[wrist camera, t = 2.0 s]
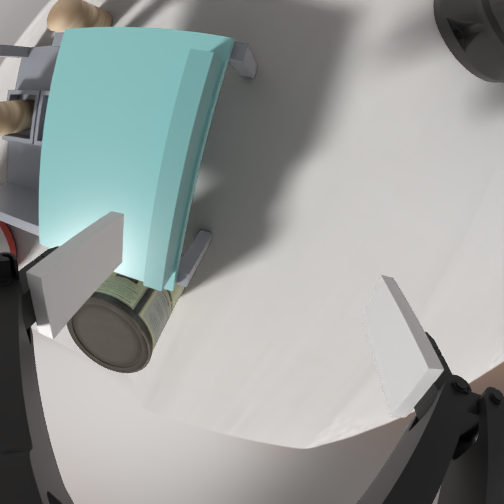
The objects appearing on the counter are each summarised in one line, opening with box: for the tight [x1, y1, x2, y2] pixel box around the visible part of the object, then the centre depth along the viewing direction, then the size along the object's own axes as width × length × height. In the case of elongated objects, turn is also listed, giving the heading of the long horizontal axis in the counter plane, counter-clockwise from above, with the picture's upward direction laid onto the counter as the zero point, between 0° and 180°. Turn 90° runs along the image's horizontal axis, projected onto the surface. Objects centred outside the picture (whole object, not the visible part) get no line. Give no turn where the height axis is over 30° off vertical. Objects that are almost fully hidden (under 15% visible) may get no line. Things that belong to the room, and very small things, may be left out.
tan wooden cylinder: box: [0, 99, 35, 136], centre depth 27 cm, size 4×4×8 cm
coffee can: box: [67, 272, 185, 373], centre depth 35 cm, size 10×10×14 cm
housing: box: [0, 32, 258, 287], centre depth 28 cm, size 22×34×10 cm, turn 74°
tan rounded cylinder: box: [47, 0, 112, 32], centre depth 23 cm, size 4×4×8 cm
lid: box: [39, 27, 235, 291], centre depth 22 cm, size 22×16×4 cm
